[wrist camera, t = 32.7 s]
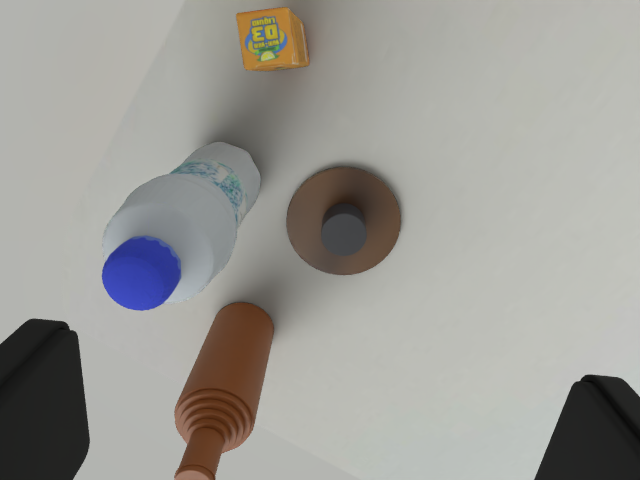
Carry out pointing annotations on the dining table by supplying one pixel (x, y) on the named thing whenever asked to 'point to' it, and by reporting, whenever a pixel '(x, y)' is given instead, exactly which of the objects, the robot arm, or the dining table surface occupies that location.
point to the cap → (343, 229)
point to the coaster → (336, 190)
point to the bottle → (179, 228)
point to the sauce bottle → (223, 389)
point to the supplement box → (272, 40)
